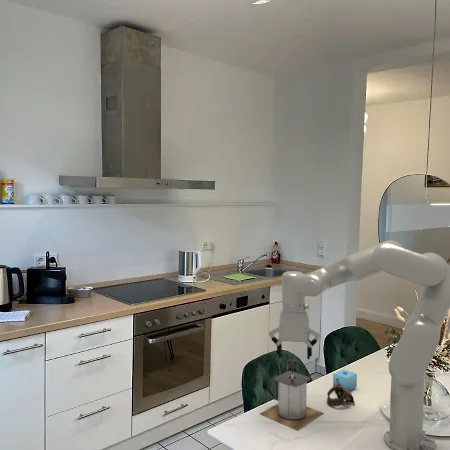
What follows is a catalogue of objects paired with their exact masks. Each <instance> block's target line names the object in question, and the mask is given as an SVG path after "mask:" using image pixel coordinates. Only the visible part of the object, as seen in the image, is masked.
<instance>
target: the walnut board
mask: <svg viewBox="0 0 450 450" xmlns="http://www.w3.org/2000/svg"><path fill="white" fill-rule="evenodd" d="M324 414H325V413H324V412H321V411H319V410H316V409H314V408H311V407H309V406H306V417H305V418H304V419H302V420H298V421H290V420H285V419H283V418H281V417H280V416H279V415H278V403H277V404H275V405H273V406H271V407H269V408H268V409H265V410H264V411H262V412H260V413H259V415H260V416H263V417H265V418H268V419H269V420H272V421H274V422H276V423H279V424H280V425H284V426H286V427H288V428H290V429H292V430H295V431H297V432H299V431H300V430H302V429H303V428H305V427H306V426H307V425H310V424H311V423H313V422H314V421H315V420H316V419H318V418H320V417H321V416H323V415H324Z"/></svg>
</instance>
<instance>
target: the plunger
mask: <svg viewBox="0 0 450 450" xmlns="http://www.w3.org/2000/svg"><path fill="white" fill-rule="evenodd" d="M286 368H287V369H286V370H287V371H291V379H293V377H294V372H295V373H296V372H297V371H298V370H299V369H298V368H299V361H298V359H295V358H294V359H293V358H292V359H291V358H290V359H287V360H286Z"/></svg>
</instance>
